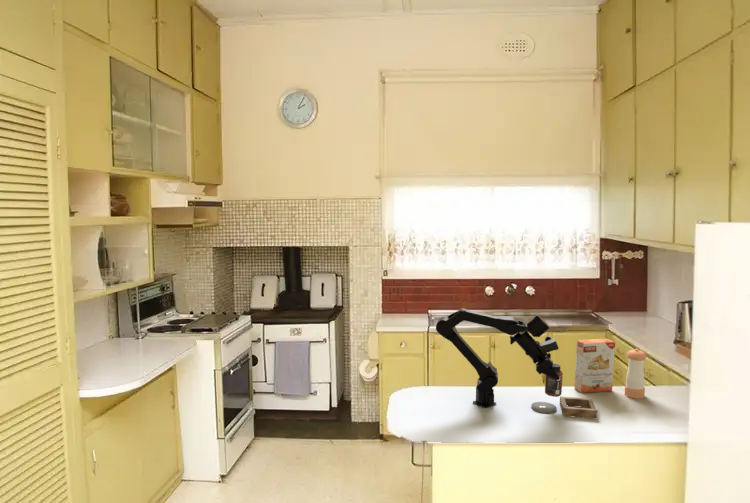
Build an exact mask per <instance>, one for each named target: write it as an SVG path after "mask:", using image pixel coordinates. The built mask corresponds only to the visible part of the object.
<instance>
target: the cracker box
mask: <svg viewBox="0 0 750 503" xmlns="http://www.w3.org/2000/svg"><path fill="white" fill-rule="evenodd" d="M615 349H616V342H615V341H614V340H611V339H608V338H592V339H591V338H590V339H577V340H576V350H575V351H576V352H575V353H576V354H575V369H574V373H575V374H574V389H575V390H577V391H578V392H580V393H582V394H583V393H584V394H586V393H587V394H588V393H599V392H600V393H601V392H602V393H603V392H612V391H613V381H614V380H613V379H614V366H615V365H614V364H615V354H616V353H615V351H616V350H615Z"/></svg>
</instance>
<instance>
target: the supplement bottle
mask: <svg viewBox="0 0 750 503" xmlns="http://www.w3.org/2000/svg"><path fill="white" fill-rule="evenodd" d="M553 368H554V370H555V371H556V373H557V374H558V376H559V378H560V379H559V380H556V379H554V378H552V377H550V376H547V375H545V384H544V393H545V395H547V396H549V397H556V398H557V397H558V398H559V397H560V396H561V395H562V389H563V376H564V375H563V372H562V370H561V365H560V364H557V363H553Z"/></svg>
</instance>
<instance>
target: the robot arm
mask: <svg viewBox="0 0 750 503" xmlns="http://www.w3.org/2000/svg"><path fill="white" fill-rule="evenodd" d="M464 321H465V322H470V323H473V324H478V325H482V326H487V327H491V328H493V329H496V330H498V331H500V332H501V333H504V334H507V335H509V344H510V345H513V344H514V343H516V344H517V345H518V346H519V347H520V348H521V349H522V350H523V352H524V354H525V355H526V356H528V357H529V358H530V359H531V360H532V363H533V364H534V365H535V371H536V372H537V373H538V375H541V374H542V375H544V376H546V375H547V376H550V377H552V378H554V379H556V380H559V379H560V378H559V376H558V374H557V373H556V371H555V370H554V368H553V364H554V361H553V360H552V358H551V357H552V355H551V353H550V352H553V351H557V350H559V349H560V348H559V345H558V343H557V341H556V338H554V337H551V336H549V335H547V336H545V337H544V341H542V342H540V341H538V340H536V339H535V338H541V336H542V335H544V334H545V333H547V331H549V330H550V329H551V326H550V325H549V324H548V323H547V321H546V320H545V319H543V318H542V317H541V316H540V315H539V314H535V315H534V316H533V317H532V318H531V319H530V320H529V321H528V322H527V321H524V320H518V319H517V318H516V317H515V316H508V315H506V316H505V315H504V316H502V315H501V316H497V315H491V314H487V313H482V312H478V311H474V310H470V309H467V308H463V307H462V308H460V309H458V310H457V311H455V312H453V313H451V314H449V315H447V316H441V317H440V318H439V319H438V321H437V322H436V324H435V330H436V333H438V334H439V335H440V336H442V337H443V338H444V339H446V340H447V341H449V342H451V344H452V345H453V346H454V347H455V348H456V349H457V350H458V351H459V353H461V355H462V356H463V357H464V358H465V359H466V360H467V361H468V363H469V364H471V366H472V367H473V368H474V369H475V371H476V373H477V375H478V378H477V382H476V385H475V386H476V387H475V400H473V401H472V403H473V404H475V405H477V406H480V407H482V408H484V409H485V408H488V407H491V406H494V405H497V402H496V401H495V393H494V389H493V388H494V387H496V386H497V385H498V382H499V374H498V368H497V367H495V366H494V365H493V364H492V362H491V361H488V362H486V361H484V360H483V359H482V358H481V357H480V356H479V355H478V354H477V353H476V352H475V351H474V349H473V348H472V347H471V346H470V344H468V343H467V341H466V340H465V339H464V338H463V337H462V336H461V335H460V333H459V331H458V329H457V327H456V326H458V325H459V324H460V323H462V322H464Z"/></svg>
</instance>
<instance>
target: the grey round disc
mask: <svg viewBox="0 0 750 503" xmlns="http://www.w3.org/2000/svg"><path fill="white" fill-rule="evenodd" d="M530 408H531V409H532V410H533V411H534V412H537V413H541V414H553V413H555V412H557V406H556V405H555V404H553V403H550V402H546V401H535V402H532V403H531V406H530ZM552 412H553V413H552Z"/></svg>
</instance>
